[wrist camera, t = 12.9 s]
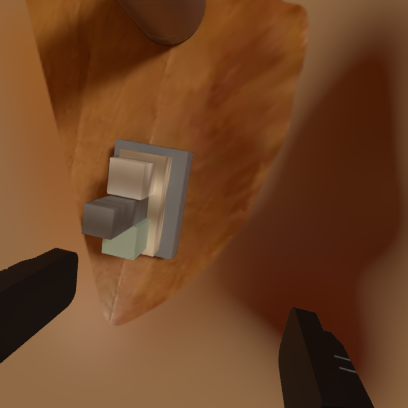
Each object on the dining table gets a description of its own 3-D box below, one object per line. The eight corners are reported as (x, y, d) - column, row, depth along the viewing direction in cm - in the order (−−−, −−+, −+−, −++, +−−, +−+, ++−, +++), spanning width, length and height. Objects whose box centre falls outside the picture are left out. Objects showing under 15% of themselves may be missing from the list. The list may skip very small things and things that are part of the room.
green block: (120, 212, 34) (104, 220, 30) (150, 219, 34) (137, 227, 30) (117, 241, 35) (101, 252, 31) (146, 248, 34) (133, 260, 31)
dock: (125, 139, 38) (115, 138, 35) (193, 152, 37) (188, 152, 34) (115, 237, 41) (105, 244, 38) (176, 252, 40) (171, 259, 37)
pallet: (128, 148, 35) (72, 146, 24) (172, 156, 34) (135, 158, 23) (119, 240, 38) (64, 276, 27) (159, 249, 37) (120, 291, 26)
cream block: (126, 157, 33) (110, 157, 29) (157, 162, 32) (144, 164, 28) (123, 188, 33) (106, 193, 30) (153, 194, 33) (140, 200, 29)
